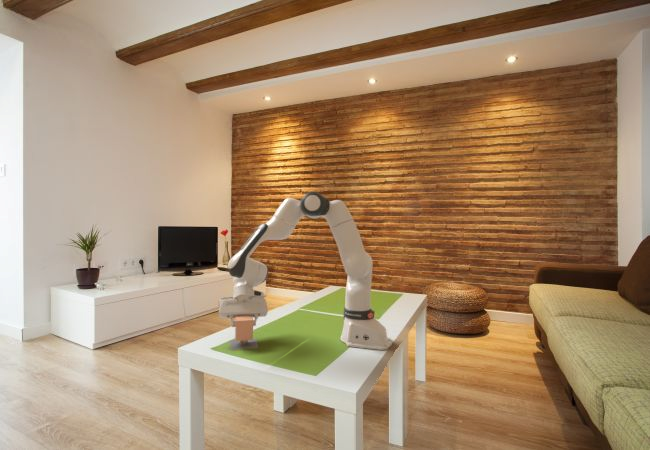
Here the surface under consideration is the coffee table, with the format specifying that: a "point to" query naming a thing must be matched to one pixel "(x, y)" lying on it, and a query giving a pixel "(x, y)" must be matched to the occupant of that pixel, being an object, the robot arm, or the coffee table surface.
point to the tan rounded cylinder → (243, 342)
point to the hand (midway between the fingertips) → (243, 325)
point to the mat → (236, 345)
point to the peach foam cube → (243, 328)
